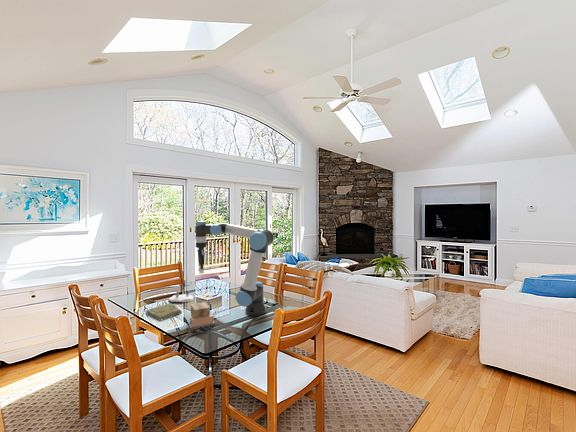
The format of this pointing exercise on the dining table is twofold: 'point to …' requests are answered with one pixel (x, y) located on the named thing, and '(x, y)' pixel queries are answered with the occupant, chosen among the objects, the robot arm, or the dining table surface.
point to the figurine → (182, 296)
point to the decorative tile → (164, 311)
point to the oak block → (199, 310)
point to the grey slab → (199, 321)
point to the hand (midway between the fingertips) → (201, 273)
